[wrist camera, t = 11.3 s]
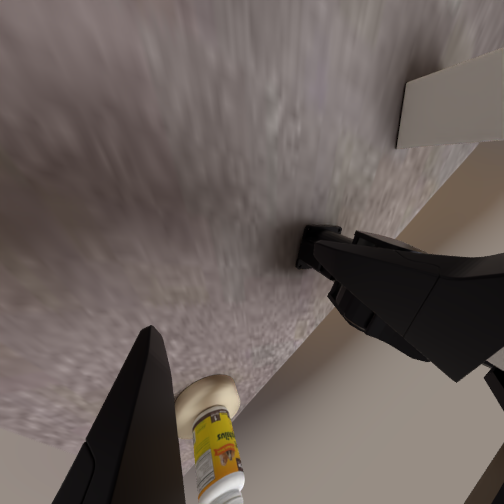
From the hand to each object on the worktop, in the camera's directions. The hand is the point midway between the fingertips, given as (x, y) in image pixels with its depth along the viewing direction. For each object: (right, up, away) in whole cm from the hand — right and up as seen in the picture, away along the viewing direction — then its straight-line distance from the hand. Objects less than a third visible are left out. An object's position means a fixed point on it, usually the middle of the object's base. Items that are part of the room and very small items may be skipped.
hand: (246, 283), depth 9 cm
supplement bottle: (-6, -24, +19) cm, 31 cm away
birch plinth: (-7, -23, +21) cm, 32 cm away
